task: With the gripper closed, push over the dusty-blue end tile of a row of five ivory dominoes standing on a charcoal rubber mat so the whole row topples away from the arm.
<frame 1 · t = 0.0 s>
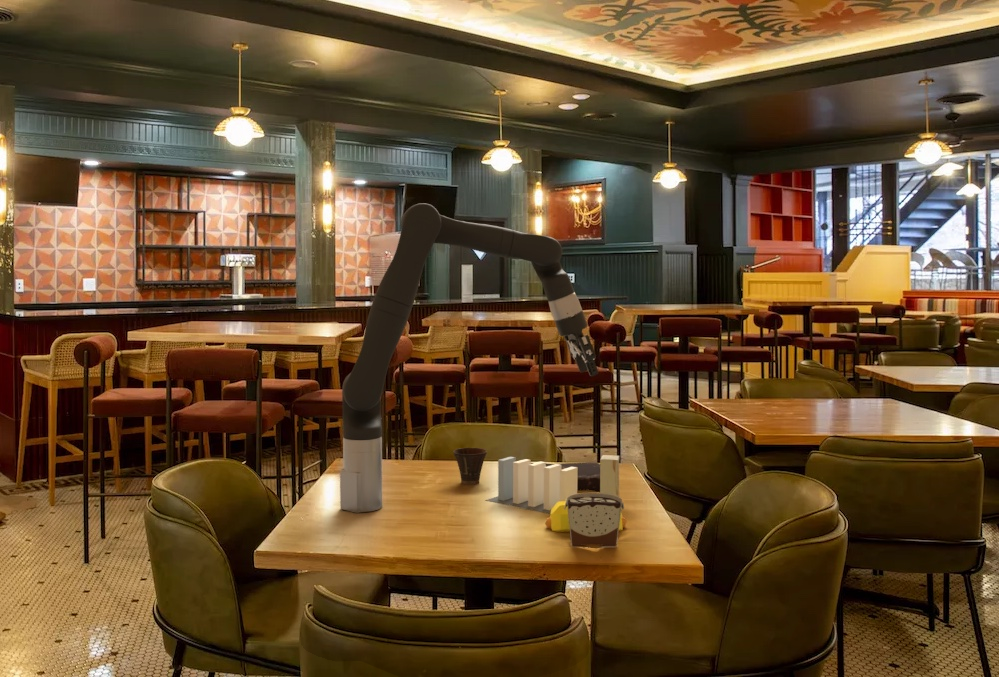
hand: (589, 373, 213), 31 cm above the table, tool tilted 20°, fingers open, 8 cm apart
diary: (560, 487, 227), on the table
domino 2: (521, 501, 208), point 1 cm above the table, touching mat
domino 4: (552, 507, 202), point 1 cm above the table, touching mat
skincare box: (609, 507, 205), on the table
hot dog: (585, 531, 186), on the table
domino 1: (507, 498, 211), point 1 cm above the table, touching mat
domino 3: (536, 504, 205), point 1 cm above the table, touching mat
food container: (592, 543, 176), on the table
mat: (537, 506, 205), on the table
domino 5: (568, 510, 199), point 1 cm above the table, touching mat
cup: (470, 485, 227), on the table
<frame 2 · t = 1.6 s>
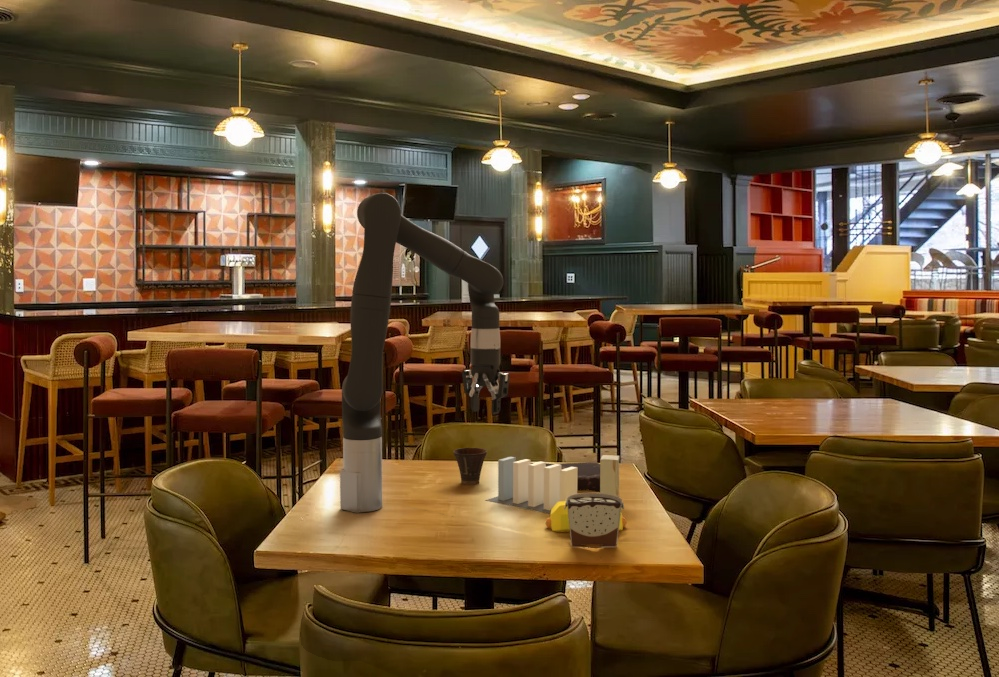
hand: (485, 412, 213), 22 cm above the table, tool pointing down, fingers open, 6 cm apart
nothing on the table moved.
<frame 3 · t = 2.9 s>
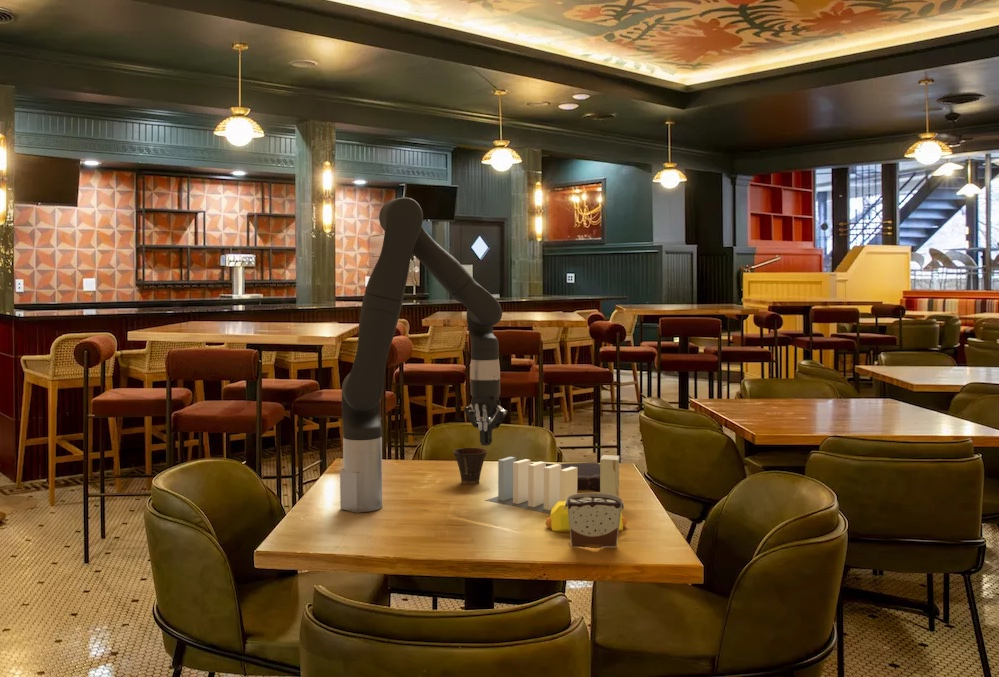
hand: (486, 444, 214), 13 cm above the table, tool pointing down, fingers closed
nothing on the table moved.
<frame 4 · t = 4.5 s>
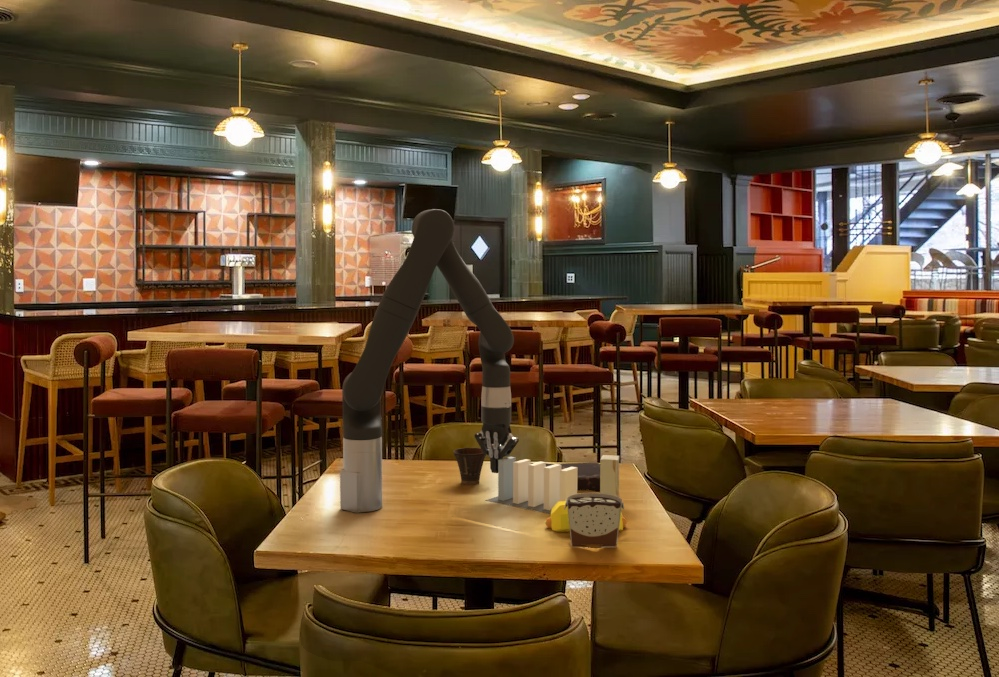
hand: (496, 472, 213), 7 cm above the table, tool pointing down, fingers closed
nothing on the table moved.
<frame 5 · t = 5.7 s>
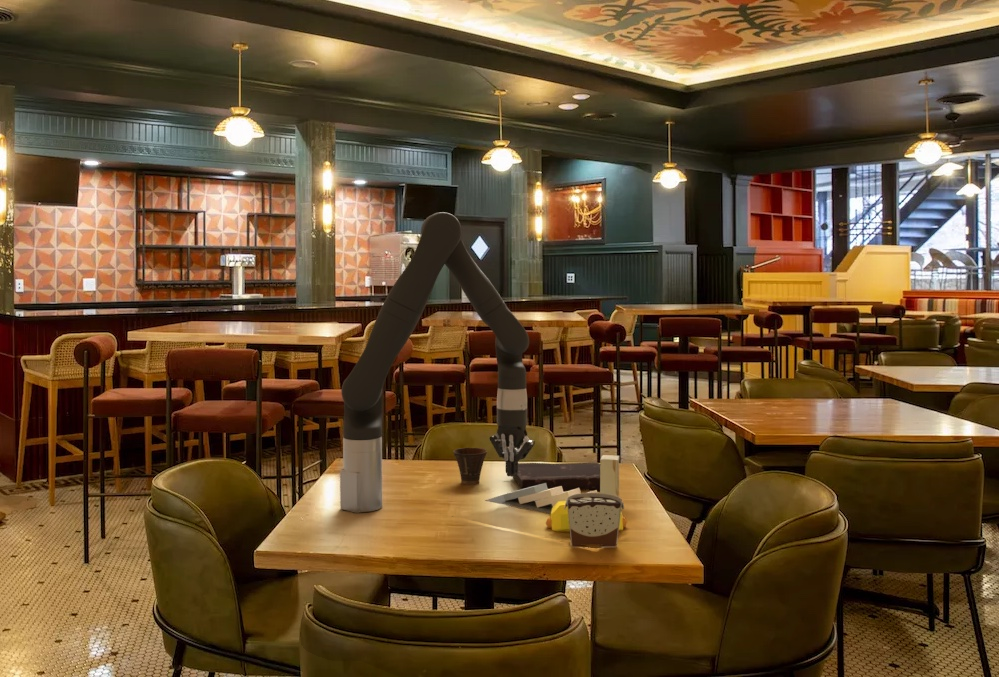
hand: (511, 475, 209), 7 cm above the table, tool pointing down, fingers closed
domino 2: (525, 498, 207), point 1 cm above the table, tilted 70°, touching domino 1, domino 3, mat
domino 4: (558, 504, 201), point 2 cm above the table, tilted 68°, touching domino 3, domino 5
domino 1: (510, 495, 210), point 1 cm above the table, tilted 70°, touching domino 2
domino 3: (542, 502, 204), point 1 cm above the table, tilted 68°, touching domino 2, domino 4, mat
domino 5: (572, 507, 198), point 1 cm above the table, tilted 91°, touching domino 4, mat
everything else where it was.
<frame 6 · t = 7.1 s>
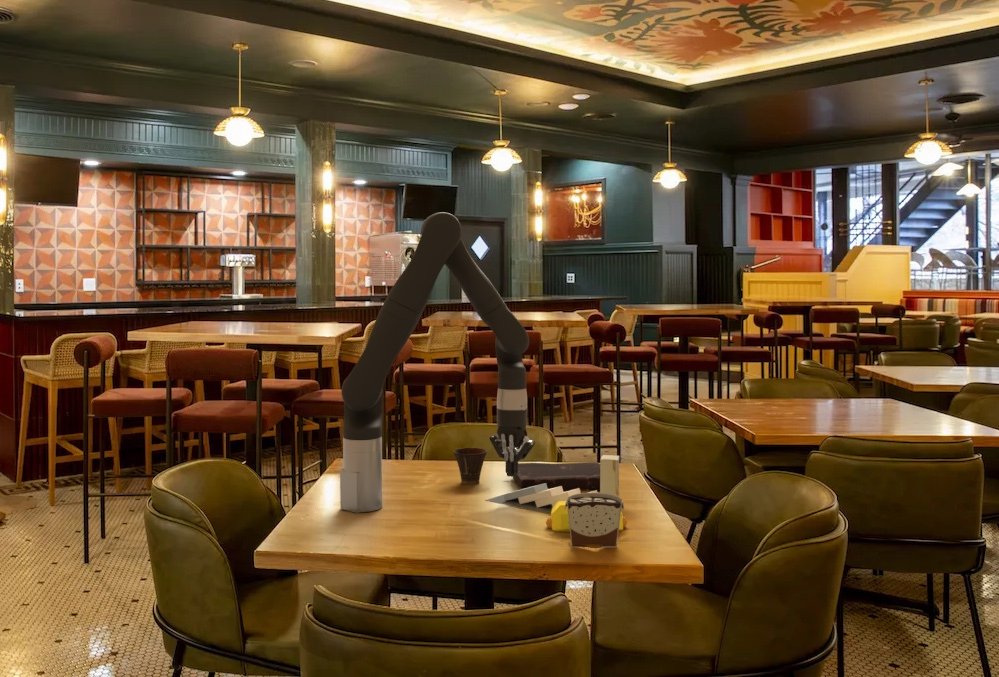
hand: (511, 475, 209), 6 cm above the table, tool pointing down, fingers closed
nothing on the table moved.
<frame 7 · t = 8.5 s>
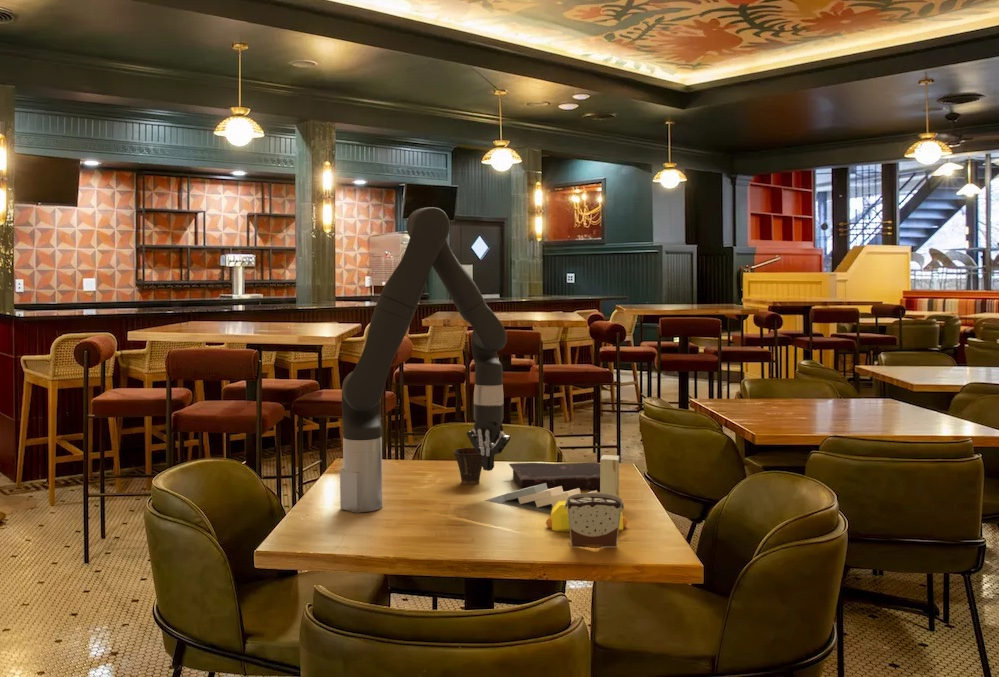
hand: (488, 469, 214), 7 cm above the table, tool pointing down, fingers closed
nothing on the table moved.
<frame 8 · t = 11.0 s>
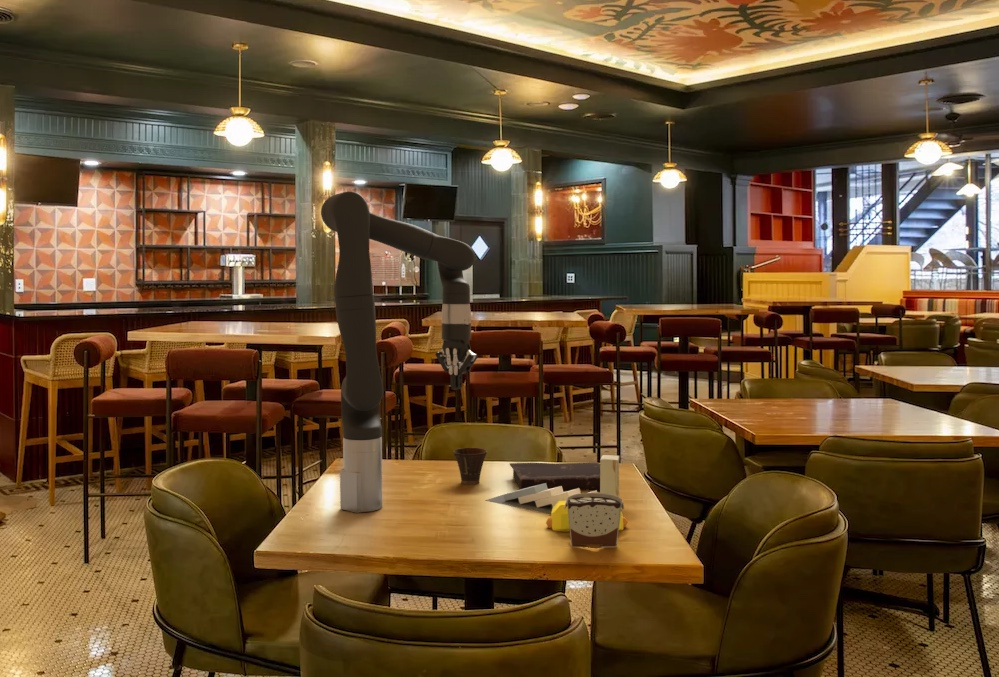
hand: (456, 389, 217), 27 cm above the table, tool pointing down, fingers closed
nothing on the table moved.
at the end: domino 5 tilted 90°; domino 1 tilted 70° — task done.
